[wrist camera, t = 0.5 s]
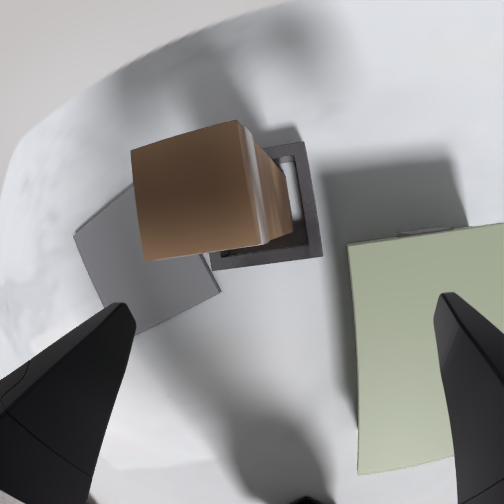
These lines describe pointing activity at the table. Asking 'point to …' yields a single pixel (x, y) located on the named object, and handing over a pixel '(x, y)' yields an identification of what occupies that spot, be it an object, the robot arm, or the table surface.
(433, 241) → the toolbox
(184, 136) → the banded wooden block
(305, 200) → the dark grey square frame
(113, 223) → the mat
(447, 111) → the table surface
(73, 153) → the table surface
